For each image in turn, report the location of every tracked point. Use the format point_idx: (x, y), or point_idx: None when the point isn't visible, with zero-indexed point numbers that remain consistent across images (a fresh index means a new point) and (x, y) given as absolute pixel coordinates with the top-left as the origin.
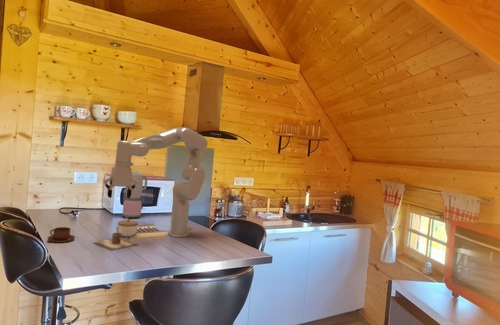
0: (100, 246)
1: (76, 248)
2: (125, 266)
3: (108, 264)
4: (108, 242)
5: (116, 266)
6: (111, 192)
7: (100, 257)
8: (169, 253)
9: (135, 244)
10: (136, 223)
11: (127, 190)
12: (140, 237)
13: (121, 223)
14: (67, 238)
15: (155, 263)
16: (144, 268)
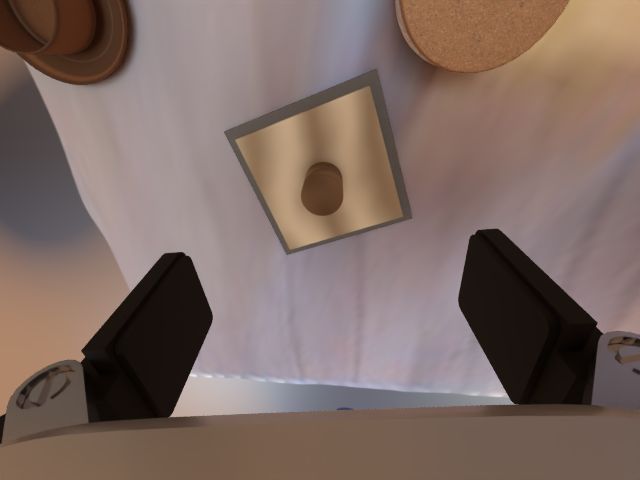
0: (255, 192)
1: (164, 176)
2: (295, 361)
3: (258, 340)
4: (291, 168)
5: (275, 355)
6: (175, 386)
7: (244, 290)
8: (458, 321)
9: (397, 216)
10: (526, 48)
11: (539, 327)
12: (502, 67)
13: (411, 19)
14: (90, 38)
15: (372, 367)
16: (333, 381)
